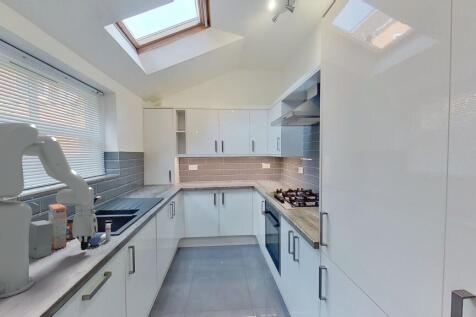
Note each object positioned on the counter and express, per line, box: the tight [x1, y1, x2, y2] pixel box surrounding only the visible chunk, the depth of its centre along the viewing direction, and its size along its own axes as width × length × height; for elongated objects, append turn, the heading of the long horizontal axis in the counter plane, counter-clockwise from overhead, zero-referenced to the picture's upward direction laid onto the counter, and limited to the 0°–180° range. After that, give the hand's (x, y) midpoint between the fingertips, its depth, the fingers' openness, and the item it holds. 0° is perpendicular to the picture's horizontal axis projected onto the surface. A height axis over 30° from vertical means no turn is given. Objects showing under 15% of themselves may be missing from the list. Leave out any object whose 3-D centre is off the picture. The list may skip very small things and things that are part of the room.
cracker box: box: [48, 203, 68, 250], centre depth 127 cm, size 14×6×21 cm, turn 46°
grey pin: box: [105, 223, 112, 242], centre depth 134 cm, size 2×2×9 cm
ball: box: [89, 233, 102, 247], centre depth 127 cm, size 6×6×6 cm
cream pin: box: [100, 232, 106, 242], centre depth 136 cm, size 2×2×9 cm
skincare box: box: [29, 219, 53, 260], centre depth 114 cm, size 8×7×16 cm
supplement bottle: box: [66, 217, 76, 241], centre depth 137 cm, size 6×6×11 cm
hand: (84, 249), depth 118 cm, fingers closed
